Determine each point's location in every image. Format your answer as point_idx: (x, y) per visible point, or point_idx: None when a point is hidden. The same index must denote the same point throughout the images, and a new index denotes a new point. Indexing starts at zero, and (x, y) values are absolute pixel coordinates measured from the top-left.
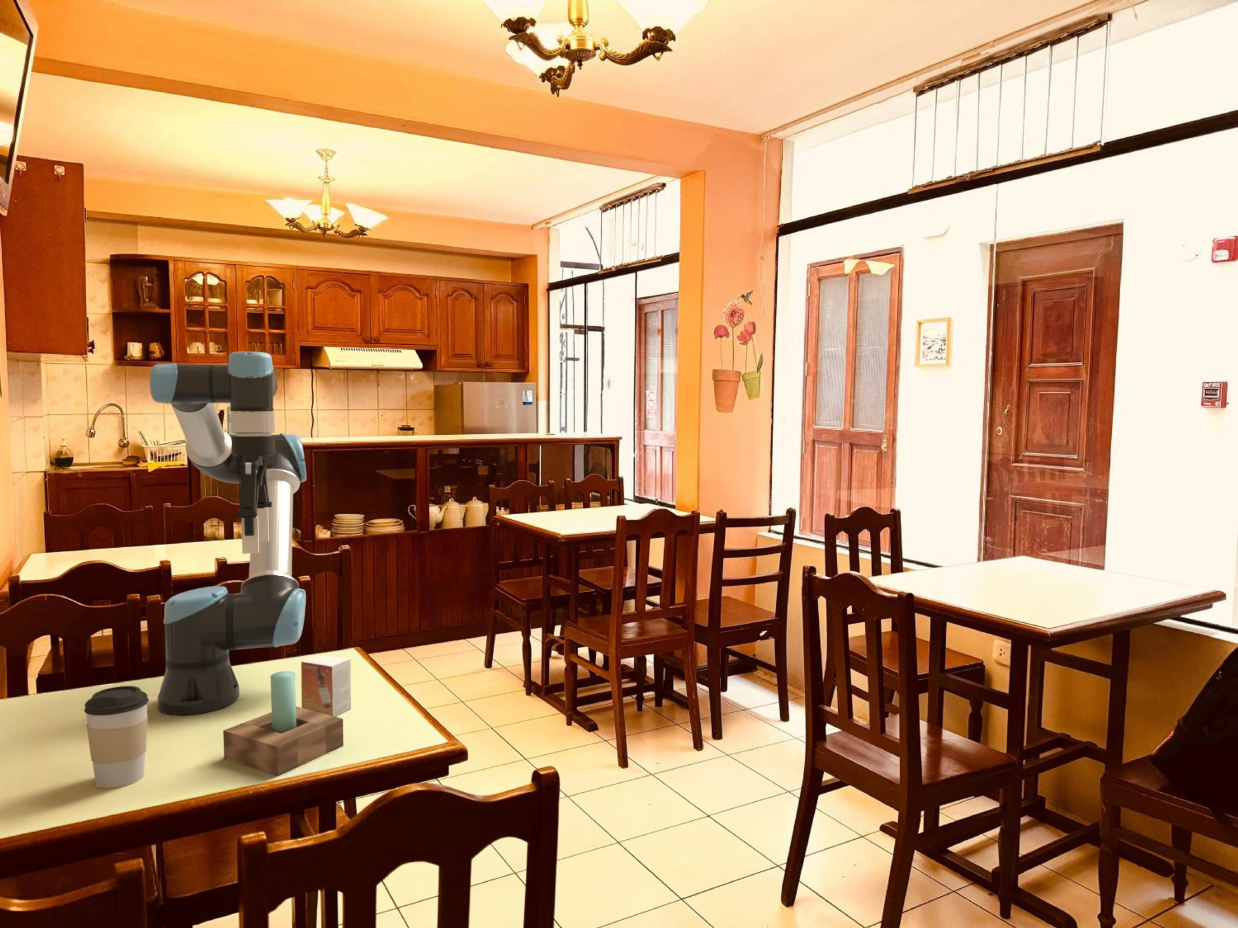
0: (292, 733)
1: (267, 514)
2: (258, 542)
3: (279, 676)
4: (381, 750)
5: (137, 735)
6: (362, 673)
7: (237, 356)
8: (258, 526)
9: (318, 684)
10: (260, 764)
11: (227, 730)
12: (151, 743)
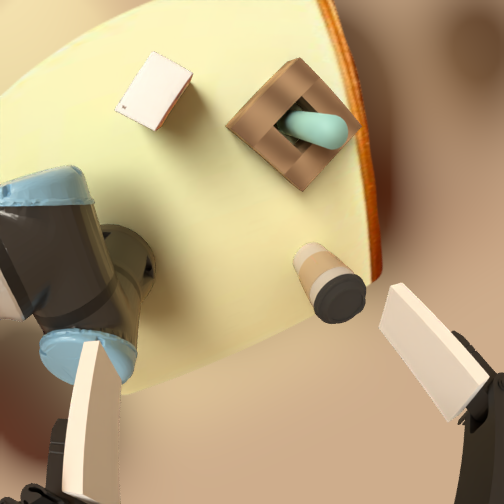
0: (331, 112)
1: (84, 459)
2: (421, 307)
3: (338, 136)
4: (309, 26)
5: (342, 262)
6: (23, 92)
7: None
8: (109, 424)
9: (177, 99)
10: None
11: (303, 187)
12: (233, 266)
